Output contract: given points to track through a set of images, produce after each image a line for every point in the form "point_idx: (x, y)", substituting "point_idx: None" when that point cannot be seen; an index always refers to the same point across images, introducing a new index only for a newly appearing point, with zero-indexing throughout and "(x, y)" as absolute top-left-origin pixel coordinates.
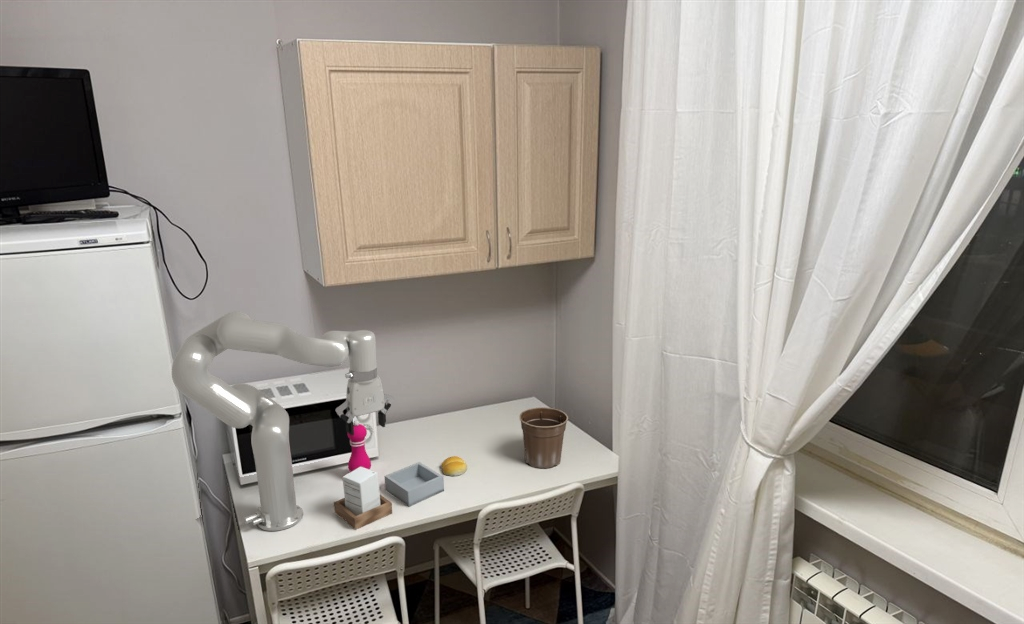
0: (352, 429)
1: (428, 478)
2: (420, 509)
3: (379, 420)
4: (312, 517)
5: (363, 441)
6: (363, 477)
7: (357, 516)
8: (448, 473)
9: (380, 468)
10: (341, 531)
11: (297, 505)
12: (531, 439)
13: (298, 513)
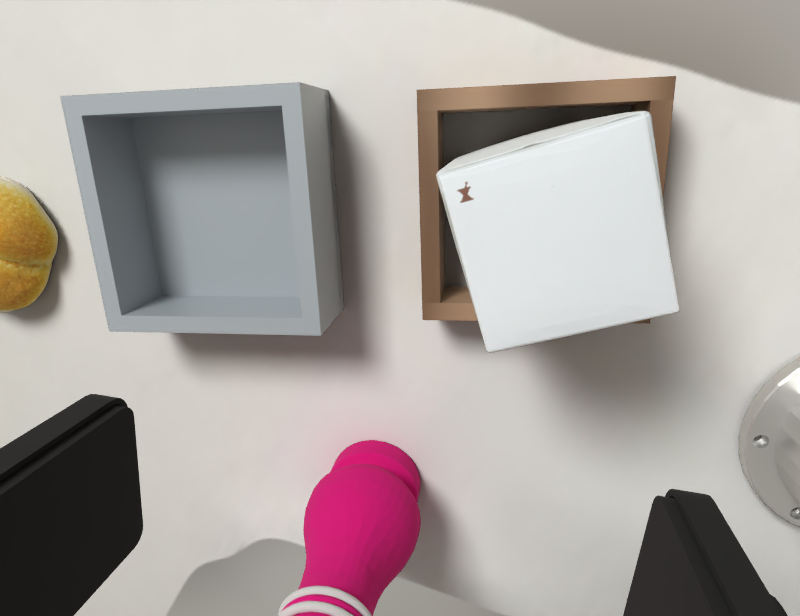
0: (733, 575)
1: (136, 216)
2: (294, 24)
3: (88, 553)
4: (736, 342)
5: (301, 605)
6: (571, 177)
7: (648, 89)
8: (37, 209)
9: (271, 481)
10: (714, 123)
11: (748, 462)
12: None
13: (791, 399)
